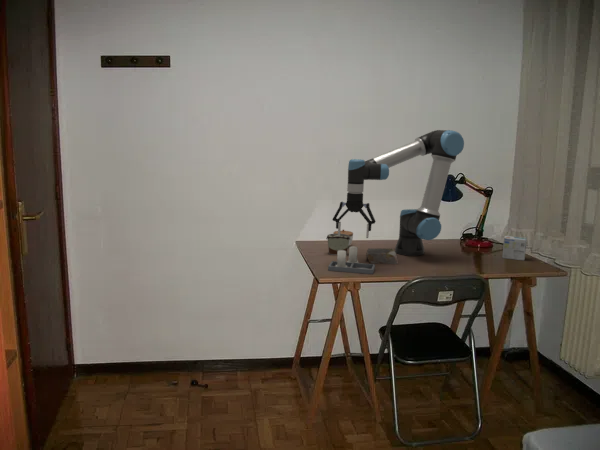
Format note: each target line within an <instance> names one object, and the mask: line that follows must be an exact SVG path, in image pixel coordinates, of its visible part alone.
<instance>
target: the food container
mask: <svg viewBox="0 0 600 450" xmlns="http://www.w3.org/2000/svg"><path fill="white" fill-rule="evenodd" d="M349 239H350V236H349V235H346V234H340V236H338V234H333V233H329V234H327V236H326V240H327V248H328V249H327V250H328V255H330V256H331V255H332V256H334V255H335V256H337V251H339V250H344V251H346V256H348V253H349V246H350V245H349ZM348 245H349V246H348Z"/></svg>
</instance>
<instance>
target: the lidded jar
mask: <svg viewBox="0 0 600 450" xmlns="http://www.w3.org/2000/svg"><path fill="white" fill-rule="evenodd" d="M332 234H338V230H335V231H333V233H332ZM340 234H346V235H349V236H350V239H349V245H348V247H350V245H352V243H353V240H354V239H353V238H354V232H353V231H349V230H345V229H342V230H340Z"/></svg>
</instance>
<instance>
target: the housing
mask: <svg viewBox="0 0 600 450" xmlns="http://www.w3.org/2000/svg"><path fill="white" fill-rule="evenodd" d="M336 256H337V257H336V258H337V259H336V260H332V261H330V263H329V264H328V266H327V267H328V268H327V271H328V272H330V271H331V272H341V273H342V272H343V273H353V274H354V273H355V274H365V275H367V274H368V275H373V274H374V272H375V270H376V263H361V262H359V263H352V262H347V255H346V251H344V250H339V251H337V255H336Z"/></svg>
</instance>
